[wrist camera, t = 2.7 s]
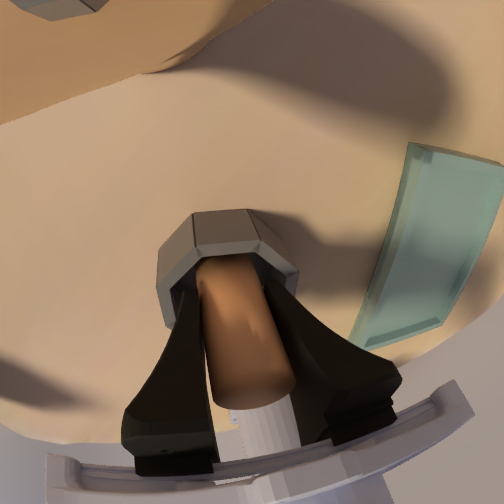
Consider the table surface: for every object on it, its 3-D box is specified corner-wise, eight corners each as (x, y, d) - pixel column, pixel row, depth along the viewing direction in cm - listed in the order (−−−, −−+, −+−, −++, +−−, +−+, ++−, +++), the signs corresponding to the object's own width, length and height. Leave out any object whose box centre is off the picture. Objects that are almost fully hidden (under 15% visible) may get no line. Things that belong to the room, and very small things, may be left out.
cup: (274, 300, 19) (287, 334, 17) (170, 311, 18) (171, 349, 15) (284, 206, 15) (304, 236, 13) (153, 216, 14) (148, 250, 12)
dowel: (248, 277, 17) (289, 401, 11) (196, 283, 16) (215, 414, 10) (250, 233, 15) (302, 362, 9) (192, 238, 15) (208, 377, 8)
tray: (434, 316, 27) (442, 325, 26) (346, 342, 25) (353, 355, 23) (498, 162, 17) (510, 169, 16) (408, 142, 14) (424, 149, 13)
